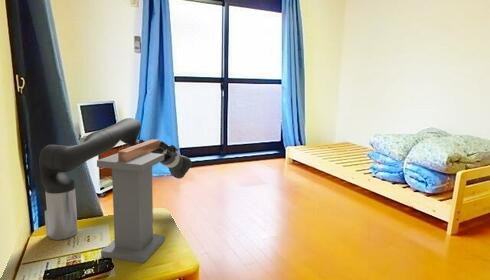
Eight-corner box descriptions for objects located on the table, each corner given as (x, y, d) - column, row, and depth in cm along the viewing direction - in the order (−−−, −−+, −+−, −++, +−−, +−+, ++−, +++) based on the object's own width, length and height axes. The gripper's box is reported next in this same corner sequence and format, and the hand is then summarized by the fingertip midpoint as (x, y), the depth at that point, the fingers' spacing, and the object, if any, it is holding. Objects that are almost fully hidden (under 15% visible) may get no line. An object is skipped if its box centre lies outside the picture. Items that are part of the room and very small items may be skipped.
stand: (101, 256, 102) (96, 160, 97) (126, 235, 117) (124, 150, 111) (143, 263, 100) (141, 164, 94) (164, 240, 114) (164, 154, 108)
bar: (118, 160, 98) (118, 151, 97) (152, 147, 119) (152, 139, 118) (127, 161, 97) (126, 152, 96) (159, 147, 118) (159, 139, 118)
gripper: (153, 146, 132) (134, 131, 116) (185, 149, 129) (171, 134, 114) (149, 163, 129) (129, 151, 114) (182, 166, 127) (166, 154, 111)
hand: (150, 142), depth 114 cm, fingers open, 7 cm apart
